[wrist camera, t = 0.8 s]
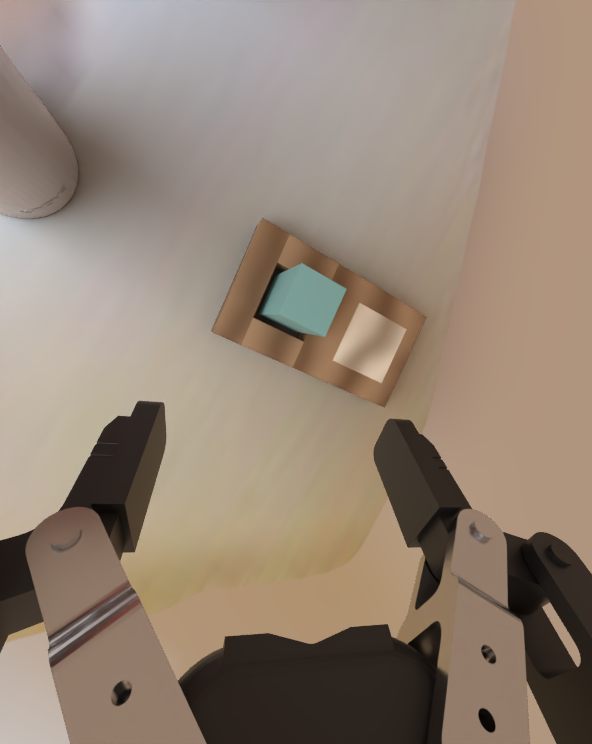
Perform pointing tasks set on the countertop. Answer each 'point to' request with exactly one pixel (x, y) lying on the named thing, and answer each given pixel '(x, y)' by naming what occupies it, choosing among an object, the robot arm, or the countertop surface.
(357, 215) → the countertop surface
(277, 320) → the teal block
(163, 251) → the countertop surface
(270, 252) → the puzzle board
